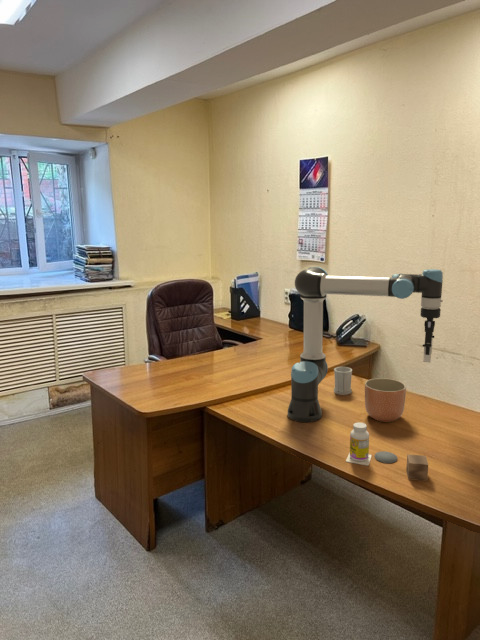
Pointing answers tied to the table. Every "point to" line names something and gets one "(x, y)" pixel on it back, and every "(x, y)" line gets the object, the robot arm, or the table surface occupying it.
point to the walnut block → (417, 467)
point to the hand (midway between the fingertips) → (427, 357)
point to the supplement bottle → (359, 442)
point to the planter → (385, 399)
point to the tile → (359, 461)
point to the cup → (343, 380)
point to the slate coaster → (385, 457)
